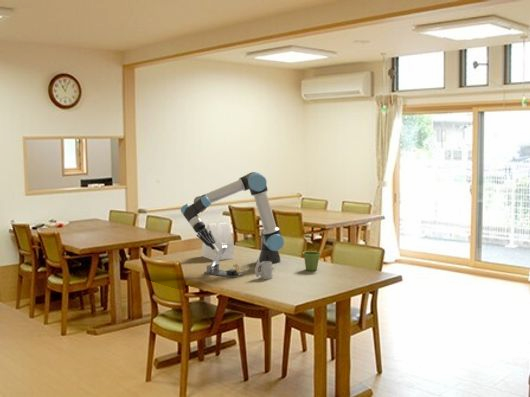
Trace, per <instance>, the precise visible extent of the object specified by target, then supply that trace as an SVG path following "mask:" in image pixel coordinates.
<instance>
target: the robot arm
mask: <svg viewBox="0 0 530 397" xmlns="http://www.w3.org/2000/svg"><path fill="white" fill-rule="evenodd" d="M267 183H268V182H267V178H266V177H265V176H264V175H263V173H260V172H257V171H251V172H249V173H248V174H245V175H243V176H241V177H239V178H238V179H237V180H236V181H232V182H230V183H229V184H226V185H224V186H221V187H219V188H217V189H214V190H211V191H209V192H207V193H204V194H202V195H199V196H195V197H194V199H193V203H192V204H190V203H185V204H183V205H182V206H181V208H180V212H181V214H182V215H183V217H184V218H185V219H186V221H187V222H188V224H189V226H191V228H192V229H193V230H194V232H195V233H197V234H196V237H197V238H199V239H200V240H201V242H202V241H203V242H204V243H205V244H206V245H207V246H208V247H211V248H212V250H213V251H214V252H215V254H217V253H218V252H219V249H218V248H217V246H216V245H215V242H216V241H215V239H214V237H213V235H212V233H211V231H207V229H206V224H205V223H204V222H203V220H202V219H201V218H200V216H199V214H200V213H202V212H203V211H204V210H206V209H208V208H209V207H210V206H211V205H212V204H213V203H215V202H218V201H220V200H222V199H225V198H228V197H230V196H232V195H235V194H238V193H240V192H242V191H243V192H246V191H250V195H251V196H252V197H254V198H253V199H254V202H255V204H256V208H257V211H258V215H259V218H260V221H261V224H262V227H263V228H262V229H261V232H260V238H261V239H260V240H261V241H260V244H261V245H260V253H259V256H258V260H259V262H260V263H262V262H263V261H270V262H272V264H277V263H280V262H281V256H280V253H279V250H281V249H282V248H283V246H284V244H285V240H284V237H283V236H282V234H281V230H280V228H279V227H278V226H277V224H276V221H275V218H274V214H273V210H272V207H271V204H270V201H269V198H268V194H267V192H268V191H269V189H268V186H267Z"/></svg>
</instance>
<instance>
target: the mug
mask: <svg viewBox="0 0 530 397" xmlns="http://www.w3.org/2000/svg"><path fill="white" fill-rule="evenodd" d="M259 267H260V271H259ZM254 275H255V276H256V278H259V277H260V279H261V280H270V279H273V276H274V275H273V263H272V262H270V261H263V262H259V259H256V264H255V268H254Z"/></svg>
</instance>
